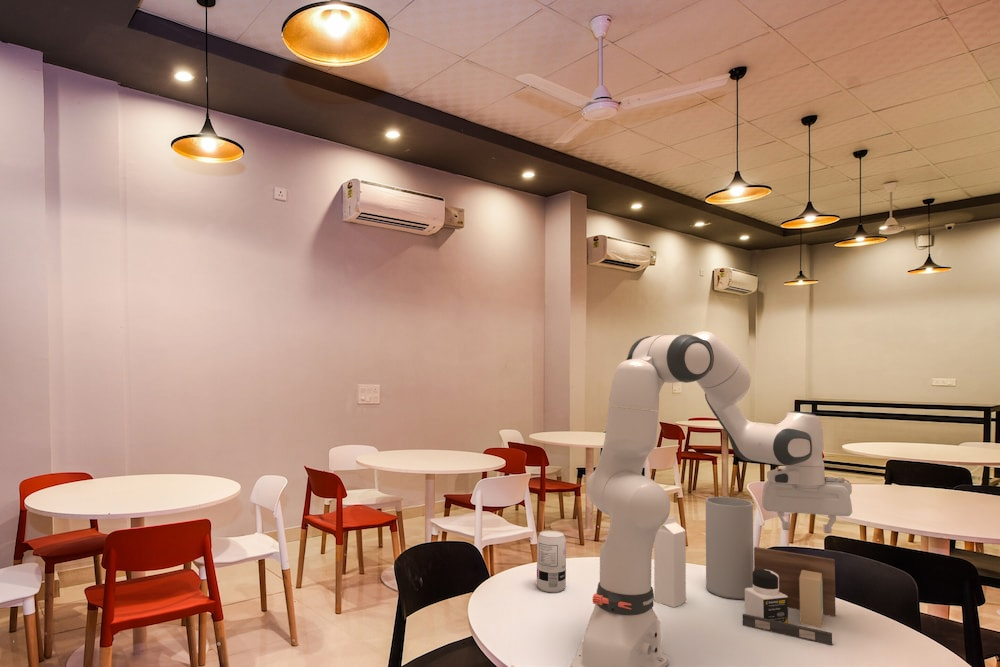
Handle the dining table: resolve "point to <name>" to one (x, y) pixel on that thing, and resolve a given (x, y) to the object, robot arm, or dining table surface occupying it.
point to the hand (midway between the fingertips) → (806, 531)
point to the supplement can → (551, 561)
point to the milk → (670, 564)
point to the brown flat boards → (795, 590)
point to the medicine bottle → (766, 597)
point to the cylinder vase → (729, 546)
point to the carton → (811, 598)
